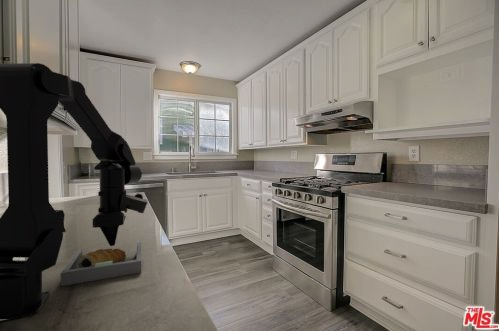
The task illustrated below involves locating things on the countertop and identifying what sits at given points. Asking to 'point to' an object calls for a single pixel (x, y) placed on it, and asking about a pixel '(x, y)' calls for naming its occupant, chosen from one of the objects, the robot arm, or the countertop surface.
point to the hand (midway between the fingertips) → (112, 245)
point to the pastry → (101, 257)
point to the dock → (98, 269)
